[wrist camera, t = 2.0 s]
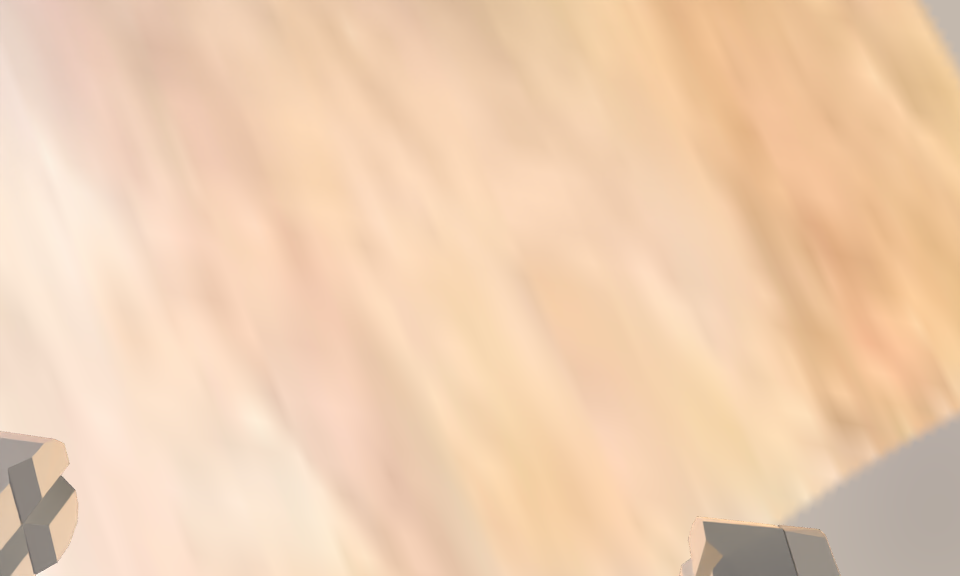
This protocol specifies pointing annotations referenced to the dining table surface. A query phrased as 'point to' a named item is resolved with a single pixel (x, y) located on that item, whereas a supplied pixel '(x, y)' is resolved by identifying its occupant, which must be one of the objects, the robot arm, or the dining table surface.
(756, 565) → the robot arm
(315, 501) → the dining table surface
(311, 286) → the dining table surface
